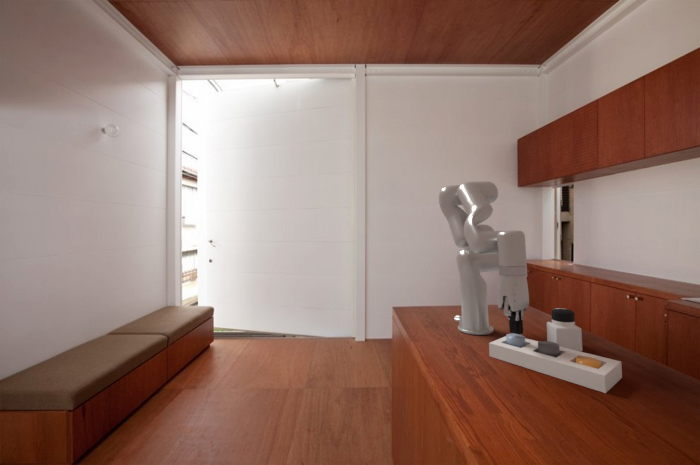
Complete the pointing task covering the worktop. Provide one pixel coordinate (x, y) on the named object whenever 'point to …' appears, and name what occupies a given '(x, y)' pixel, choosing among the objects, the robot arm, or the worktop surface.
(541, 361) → the frame
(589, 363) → the orange button
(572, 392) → the worktop surface
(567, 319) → the medicine bottle
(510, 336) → the slate button
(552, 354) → the charcoal button
